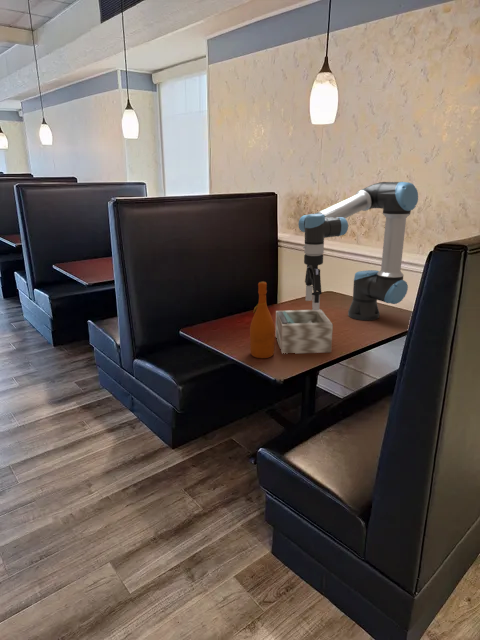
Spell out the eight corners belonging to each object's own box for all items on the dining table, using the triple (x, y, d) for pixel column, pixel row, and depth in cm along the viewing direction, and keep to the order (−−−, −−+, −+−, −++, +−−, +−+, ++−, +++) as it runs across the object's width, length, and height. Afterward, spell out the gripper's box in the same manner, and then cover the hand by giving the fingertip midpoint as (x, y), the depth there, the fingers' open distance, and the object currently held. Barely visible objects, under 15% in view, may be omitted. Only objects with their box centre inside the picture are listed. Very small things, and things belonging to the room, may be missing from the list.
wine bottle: (271, 349, 179) (272, 278, 169) (277, 358, 170) (277, 284, 160) (248, 350, 178) (247, 279, 168) (252, 360, 168) (251, 285, 159)
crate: (319, 335, 194) (321, 308, 190) (331, 352, 175) (332, 323, 171) (275, 336, 193) (275, 309, 189) (282, 353, 174) (282, 324, 170)
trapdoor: (302, 335, 190) (304, 333, 190) (308, 347, 177) (310, 345, 177) (282, 312, 186) (284, 310, 186) (287, 322, 173) (289, 321, 173)
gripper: (298, 249, 184) (297, 297, 190) (310, 260, 160) (309, 314, 167) (316, 248, 184) (314, 296, 191) (330, 259, 160) (328, 314, 167)
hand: (312, 305), depth 179 cm, fingers open, 13 cm apart
